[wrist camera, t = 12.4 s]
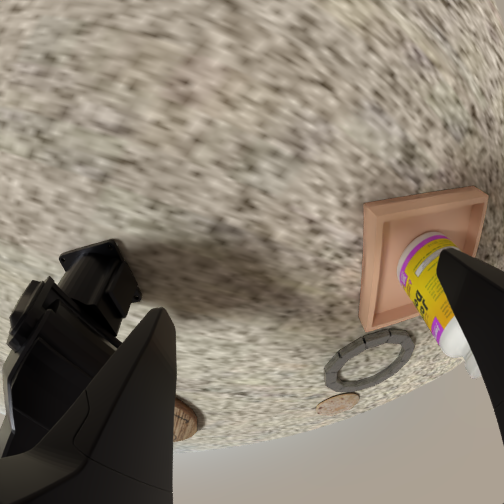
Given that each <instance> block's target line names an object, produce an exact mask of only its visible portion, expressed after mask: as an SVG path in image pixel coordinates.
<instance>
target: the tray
mask: <svg viewBox="0 0 504 504" xmlns="http://www.w3.org/2000/svg"><path fill="white" fill-rule="evenodd" d="M488 198H489V196H488V195H487V194H485V193H484V192H482V191H481V190H479V189H478V188H476V187H475V186H468V187H461V188H454V189H448V190H441V191H435V192H428V193H422V194H415V195H409V196H403V197H397V198H391V199H385V200H379V201H374V202H368V203H364V228H363V260H362V278H361V292H360V304H359V314H358V317H359V319H360V321H361V323H362V325H363V328H364V330H365V332H369V331H373V330H376V329H380V328H383V327H386V326H389V325H392V324H395V323H399V322H402V321H405V320H408V319H411V318H413V317H416V316H419V315H420V313H419V312H418V310H417V309H416V307H415V305H414V304H413V302H412V301H411V299H410V298H409V296H408V295H407V293H406V292H405V290H404V289H403V287H402V286H401V284H400V282H399V280H398V277H397V266H398V262H399V259H400V257H401V255H402V253H403V252H404V250H405V249H406V248H407V246H408V245H409V244H410V243H411V242H412V241H413V240H414V239H416V238H417V237H419V236H420V235H422V234H425V233H428V232H440V233H442V234H444V235H445V236H446V237H447V238H449V239H450V240H451V241H452V242H453V243H454V244H455V245H456V246H457V247H458V248H459V249H460V250H461V251H462V252H463V253H465V254H468V255H470V256H472V257H474V258H475V256H476V252H477V249H478V245H479V241H480V237H481V233H482V228H483V224H484V219H485V214H486V209H487V204H488Z"/></svg>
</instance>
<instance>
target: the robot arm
mask: <svg viewBox="0 0 504 504" xmlns="http://www.w3.org/2000/svg"><path fill="white" fill-rule="evenodd" d="M109 245H111V246H112V248H111V247H110V246H109ZM63 258H64V259H65V260H64V259H63ZM59 261H60V263H61V264H62V266H63V268H64V270H65V271H66V273H65V274H64V276H63V277H62V279H61V280H60V282H59V284H58V285H56V284H55V283H54V280H53V279H52V278H51V277H50V276H49V277H48V278H47V279H46V280H45V281H42V282H41V281H40V282H38V281H35V280H32V281H31V283H30V284H29V285H28V287H27V288H26V290H25V291H24V293H23V294H22V296H21V297H20V299H19V300H18V302H17V304H16V306H15V308H14V310H13V311H12V313H11V315H10V324H11V328H10V331H9V337H8V340H7V343H6V344H7V345H8V346H9V347H10V348H11V349H12V350H11V352H10V354H9V356H8V357H7V359H6V361H5V363H4V365H3V369H2V374H3V389H4V399H5V408H6V416H5V419H4V421H3V424H2V426H1V429H0V504H173V493H172V492H173V489H172V488H173V487H172V472H173V471H172V469H173V432H174V411H175V394H176V379H177V364H176V330H175V326H174V324H173V322H172V320H171V318H170V316H169V315H168V313H167V311H166V309H165V308H163V307H160V308H153V309H151V310H150V311H149V312H148V313H147V314H146V316H145V317H144V318H143V319H142V320H141V321H140V323H139V324H138V325H137V326H136V327H135V329H134V330H133V331H132V332H131V333H130V334H129V336H128V337H127V338H126V339H125V340H124V342H123V343H122V342H121V341H119V340H118V339H117V338H116V336H117V334H118V331H119V328H120V325H121V322H122V319H123V318H126V316H127V314H128V311H129V308H130V305H131V303H134V302H139V301H141V299H142V293H141V292H140V290H139V288H138V286H137V285H138V284H137V282H136V280H135V278H134V276H133V274H132V272H131V270H130V268H129V267H128V265H127V263H126V262H125V261H124V259H123V257H122V255H121V253H120V251H119V248H118V246H117V244H116V243H115V241H113V240H107V241H103V242H100V243H96V244H93V245H89V246H86V247H82V248H79V249H75V250H72V251H69V252H65V253H62V254H61V255H60V257H59ZM436 274H437V277H438V279H439V281H440V284H441V286H442V288H443V290H444V293H445V295H446V297H447V300H448V302H449V304H450V307H451V309H452V311H453V313H454V315H455V318H456V320H457V321H458V323H459V325H460V327H461V330H462V332H463V334H464V336H465V338H466V340H467V342H468V344H469V346H470V349H471V351H472V353H473V355H474V358H475V360H476V362H477V365H478V367H479V370H480V372H481V375H482V377H483V380H484V383H485V385H486V388H487V391H488V393H489V396H490V399H491V402H492V405H493V408H494V412H495V415H496V418H497V422H498V425H499V429H500V432H501V436H502V440H503V444H504V271H502V270H500V269H498V268H496V267H494V266H491V265H489V264H487V263H485V262H483V261H481V260H479V259H476V258H474V257H472V256H470V255H468V254H465V253H463V252H461V251H459V250H456V249H454V248H446V249H443V250H442V251H441V252H440V255H439V260H438V264H437V268H436ZM136 296H138V297H136ZM503 504H504V503H503Z"/></svg>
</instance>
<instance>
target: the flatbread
mask: <svg viewBox="0 0 504 504" xmlns="http://www.w3.org/2000/svg"><path fill="white" fill-rule="evenodd" d="M358 401H359V396H358V395H357V394H353V393H348V394H342V395H338V396H335V397H332V398H329V399H327V400H325V401H323V402H321V403H320V404H318V405H317V407H316V412H317V413H318V414H320V415H323V416H326V415H329V416H333V415H335V414H338V413H341V412H343V411H346V410H350V409H351V408H353V406H354V405H356V404H357V402H358Z"/></svg>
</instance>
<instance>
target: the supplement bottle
mask: <svg viewBox="0 0 504 504" xmlns="http://www.w3.org/2000/svg"><path fill="white" fill-rule="evenodd" d="M446 248H454V249H456V250H459V251H461V250H460V249H459V248H458V247H457V246H456V245H455V244H454V243H453V242H452V241H451V240H450V239H449V238H447V237H446V236H445V235H444V234H442V233H440V232H428V233H425V234H422V235H420V236H419V237H417V238H416V239H414V240H413V241H412V242H411V243H410V244H409V245H408V246H407V248H406V249H405V250H404V252H403V253H402V255H401V257H400V259H399V262H398V266H397V277H398V280H399V282H400V284H401V286H402V287H403V289H404V290H405V292H406V293H407V295H408V296H409V298H410V299H411V301H412V302H413V304H414V305H415V307H416V309H417V310H418V312H419V313H420V315H421V316H422V318H423V320H424V321H425V323H426V324H427V326H428V328H429V329H430V331H431V332H432V334H433V336H434V337H435V339H436V341H437V342H438V344H439V346H440V348H441V349H442V351H443V352H444V353H445V354H446V355H447V356H449V357H453V358H458V357H463V358H464V360H465V368H466V370H467V371H468V373H469V375H470V377H471V378H472V379H475V378H478V377H480V376H482V375H481V372H480V370H479V367H478V365H477V362H476V360H475V358H474V355H473V353H472V351H471V349H470V346H469V344H468V342H467V340H466V338H465V336H464V334H463V332H462V330H461V327H460V325H459V323H458V321H457V320H456V318H455V315H454V313H453V311H452V309H451V307H450V304H449V302H448V300H447V297H446V295H445V293H444V290H443V288H442V286H441V284H440V281H439V279H438V277H437V274H436V268H437V264H438V260H439V255H440V252H441V251H442V250H443V249H446ZM461 252H462V251H461Z"/></svg>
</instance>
